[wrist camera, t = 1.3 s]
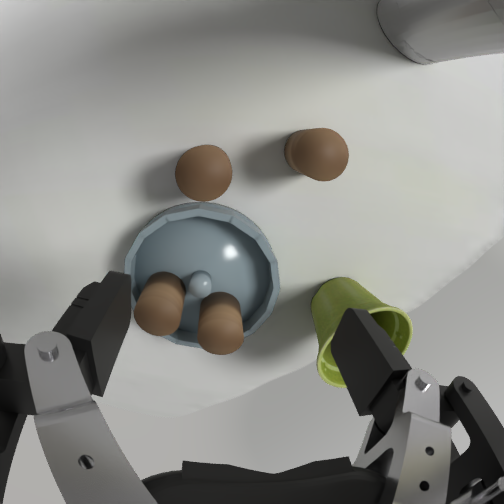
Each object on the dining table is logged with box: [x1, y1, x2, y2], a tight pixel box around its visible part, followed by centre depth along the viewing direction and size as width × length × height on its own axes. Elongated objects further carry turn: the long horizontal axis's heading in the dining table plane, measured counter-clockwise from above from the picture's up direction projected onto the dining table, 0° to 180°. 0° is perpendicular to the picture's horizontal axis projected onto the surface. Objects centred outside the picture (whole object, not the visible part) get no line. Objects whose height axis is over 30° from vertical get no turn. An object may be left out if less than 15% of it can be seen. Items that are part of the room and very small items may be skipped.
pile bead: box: [284, 128, 349, 181], centre depth 21 cm, size 4×4×4 cm
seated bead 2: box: [197, 292, 244, 355], centre depth 25 cm, size 4×4×4 cm
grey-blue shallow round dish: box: [124, 202, 280, 349], centre depth 25 cm, size 14×14×3 cm
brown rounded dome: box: [175, 145, 232, 202], centre depth 21 cm, size 4×4×4 cm
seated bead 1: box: [134, 271, 186, 336], centre depth 24 cm, size 4×4×4 cm
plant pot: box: [311, 277, 412, 388], centre depth 25 cm, size 9×9×9 cm
